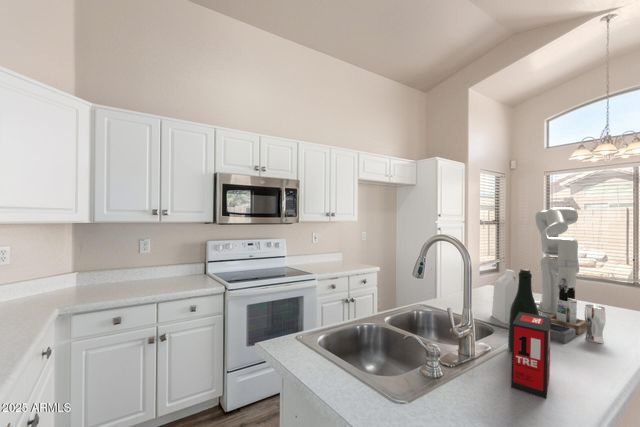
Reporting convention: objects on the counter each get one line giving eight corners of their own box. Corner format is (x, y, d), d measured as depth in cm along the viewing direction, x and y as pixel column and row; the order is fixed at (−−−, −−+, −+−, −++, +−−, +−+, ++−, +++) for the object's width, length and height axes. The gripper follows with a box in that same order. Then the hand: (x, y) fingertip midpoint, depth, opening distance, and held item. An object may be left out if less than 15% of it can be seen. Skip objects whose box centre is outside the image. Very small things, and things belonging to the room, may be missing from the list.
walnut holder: (545, 326, 151) (545, 317, 151) (555, 322, 159) (555, 313, 159) (578, 335, 141) (578, 326, 141) (587, 330, 148) (587, 321, 148)
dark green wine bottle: (533, 349, 125) (535, 268, 125) (544, 361, 115) (546, 272, 115) (504, 345, 127) (506, 266, 128) (512, 357, 117) (514, 270, 118)
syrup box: (555, 327, 151) (556, 297, 152) (564, 326, 153) (564, 297, 153) (568, 331, 146) (568, 300, 146) (576, 330, 148) (577, 300, 148)
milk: (527, 324, 155) (528, 272, 155) (504, 323, 155) (505, 272, 155) (513, 316, 167) (514, 268, 167) (491, 315, 167) (492, 268, 167)
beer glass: (586, 341, 134) (587, 307, 134) (582, 336, 140) (582, 303, 140) (607, 345, 131) (608, 309, 131) (602, 339, 137) (602, 305, 137)
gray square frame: (530, 333, 142) (530, 325, 142) (541, 328, 149) (541, 320, 149) (564, 343, 131) (564, 334, 131) (575, 337, 138) (575, 328, 138)
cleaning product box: (546, 399, 90) (547, 331, 90) (511, 387, 96) (512, 323, 96) (549, 377, 103) (550, 317, 103) (518, 368, 109) (519, 311, 109)
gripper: (564, 262, 158) (564, 295, 157) (551, 263, 148) (550, 299, 147) (583, 264, 151) (582, 299, 151) (570, 266, 142) (570, 303, 141)
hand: (567, 299), depth 149 cm, fingers open, 9 cm apart
